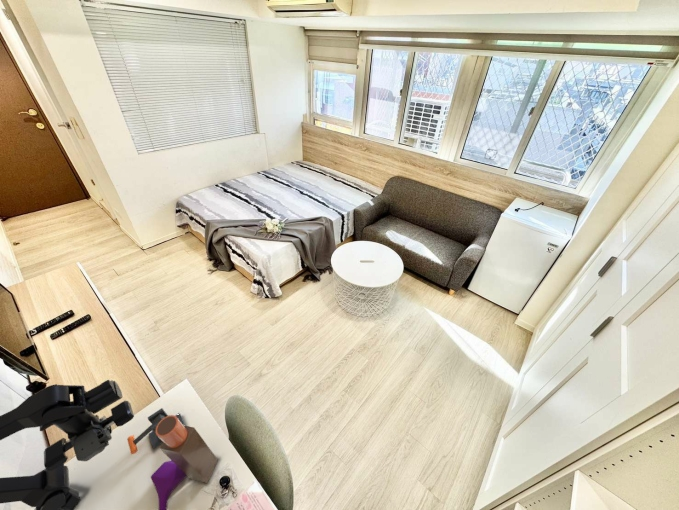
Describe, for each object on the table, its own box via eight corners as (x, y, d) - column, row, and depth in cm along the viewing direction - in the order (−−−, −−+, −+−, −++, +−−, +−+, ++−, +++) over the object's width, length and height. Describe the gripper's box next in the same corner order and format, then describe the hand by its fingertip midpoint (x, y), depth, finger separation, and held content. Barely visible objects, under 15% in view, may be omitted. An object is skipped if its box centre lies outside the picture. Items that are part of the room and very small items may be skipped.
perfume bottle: (178, 465, 78) (152, 552, 69) (192, 461, 85) (169, 540, 76) (154, 462, 79) (125, 548, 70) (170, 458, 85) (145, 536, 76)
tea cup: (161, 446, 69) (150, 434, 65) (175, 425, 73) (165, 413, 69) (179, 450, 68) (168, 438, 64) (191, 429, 72) (182, 416, 68)
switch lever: (134, 454, 84) (128, 453, 83) (130, 440, 88) (125, 439, 86) (167, 424, 88) (162, 423, 87) (163, 412, 92) (158, 410, 90)
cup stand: (190, 478, 82) (158, 448, 69) (201, 456, 87) (174, 423, 73) (207, 483, 82) (179, 453, 68) (218, 460, 86) (194, 427, 72)
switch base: (154, 450, 89) (141, 437, 83) (150, 435, 92) (137, 422, 87) (186, 427, 94) (175, 414, 89) (180, 414, 98) (170, 400, 92)
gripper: (27, 479, 60) (68, 499, 69) (124, 417, 70) (149, 442, 79) (27, 439, 67) (65, 461, 76) (116, 388, 77) (140, 413, 86)
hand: (107, 444), depth 79 cm, fingers closed
